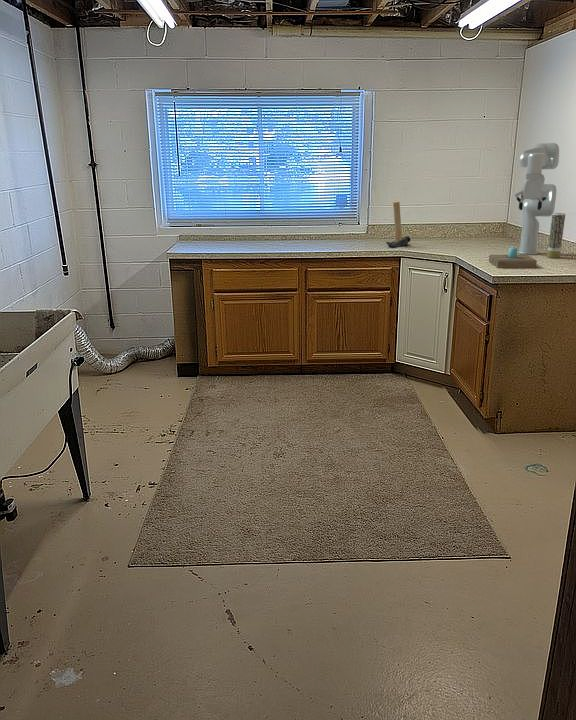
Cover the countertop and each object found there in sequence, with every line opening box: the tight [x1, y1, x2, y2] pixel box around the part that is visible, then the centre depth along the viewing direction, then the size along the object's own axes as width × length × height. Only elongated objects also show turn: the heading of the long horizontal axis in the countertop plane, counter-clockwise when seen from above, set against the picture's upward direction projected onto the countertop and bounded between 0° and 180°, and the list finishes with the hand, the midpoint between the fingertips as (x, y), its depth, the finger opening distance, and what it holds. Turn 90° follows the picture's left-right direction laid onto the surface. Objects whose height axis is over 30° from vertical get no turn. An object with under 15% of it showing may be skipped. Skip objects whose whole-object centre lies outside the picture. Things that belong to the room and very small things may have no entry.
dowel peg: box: [507, 247, 519, 258], centre depth 325 cm, size 4×4×9 cm
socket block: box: [488, 254, 538, 269], centre depth 326 cm, size 20×20×4 cm
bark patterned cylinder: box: [546, 212, 566, 259], centre depth 343 cm, size 7×7×25 cm
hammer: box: [385, 200, 411, 248], centre depth 394 cm, size 20×5×30 cm, turn 133°
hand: (529, 209), depth 328 cm, fingers open, 9 cm apart
